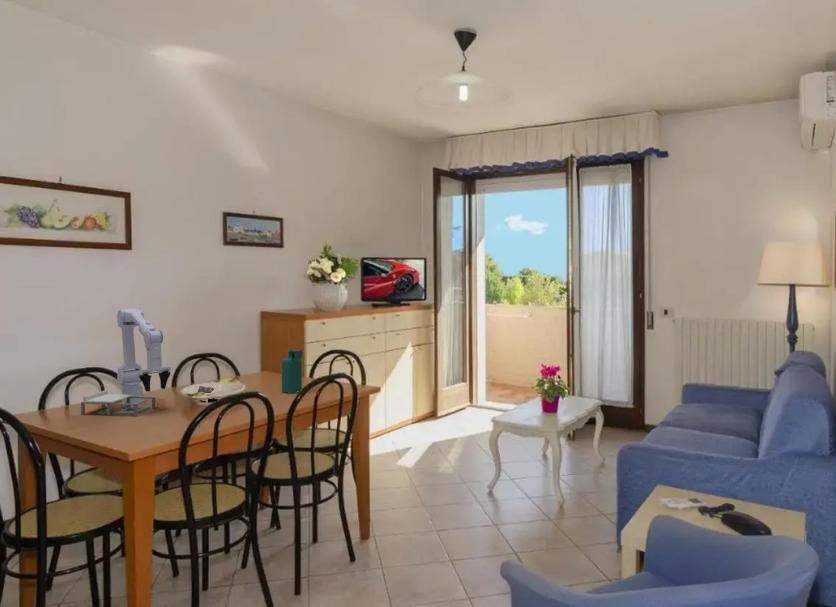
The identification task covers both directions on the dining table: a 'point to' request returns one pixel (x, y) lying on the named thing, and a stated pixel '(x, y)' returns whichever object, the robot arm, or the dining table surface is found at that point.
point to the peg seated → (116, 406)
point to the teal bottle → (292, 371)
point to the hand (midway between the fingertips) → (155, 390)
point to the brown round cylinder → (161, 403)
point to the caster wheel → (205, 389)
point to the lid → (104, 397)
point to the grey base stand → (125, 409)
